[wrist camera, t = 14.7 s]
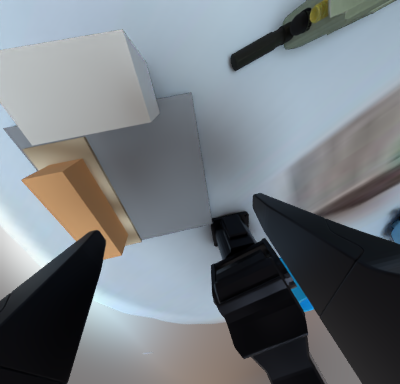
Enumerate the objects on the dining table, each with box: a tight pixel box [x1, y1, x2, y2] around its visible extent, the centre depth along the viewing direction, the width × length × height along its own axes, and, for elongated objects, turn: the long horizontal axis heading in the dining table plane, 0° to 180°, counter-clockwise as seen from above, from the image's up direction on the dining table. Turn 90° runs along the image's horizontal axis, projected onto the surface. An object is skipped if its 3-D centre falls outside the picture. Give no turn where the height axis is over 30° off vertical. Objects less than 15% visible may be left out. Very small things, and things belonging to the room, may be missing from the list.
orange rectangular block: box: [21, 159, 128, 260], centre depth 18 cm, size 12×4×4 cm, turn 9°
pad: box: [22, 137, 142, 246], centre depth 20 cm, size 16×6×1 cm, turn 9°
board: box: [3, 93, 212, 240], centre depth 20 cm, size 18×18×1 cm
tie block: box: [0, 29, 160, 146], centre depth 11 cm, size 4×7×7 cm, turn 99°
